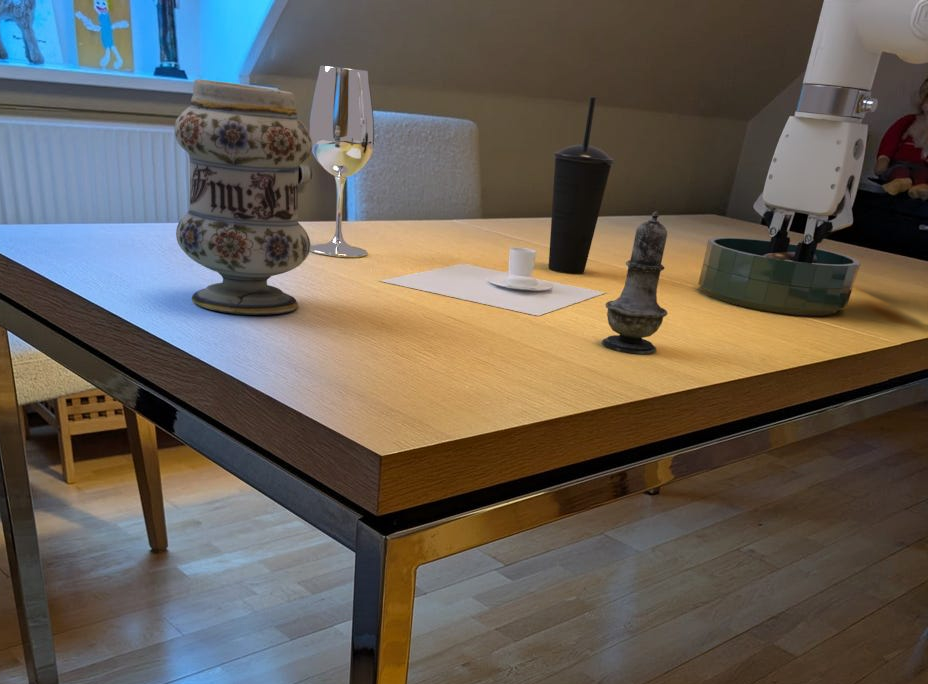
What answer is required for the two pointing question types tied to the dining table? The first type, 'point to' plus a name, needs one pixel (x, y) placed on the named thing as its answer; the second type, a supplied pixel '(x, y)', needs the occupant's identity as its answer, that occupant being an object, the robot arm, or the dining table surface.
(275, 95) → the apothecary jar
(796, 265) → the bowl
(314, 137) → the wineglass
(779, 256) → the stick
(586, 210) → the drinking cup
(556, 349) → the dining table surface
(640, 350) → the salt shaker
